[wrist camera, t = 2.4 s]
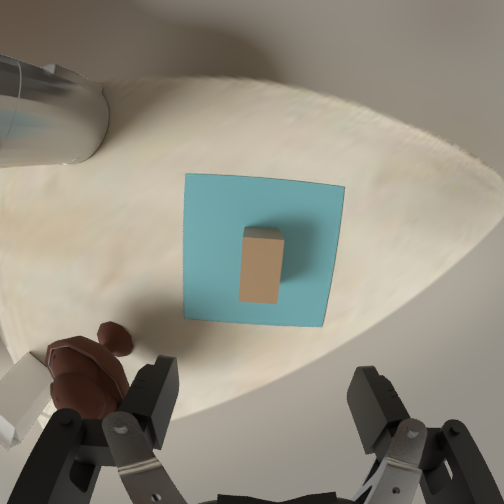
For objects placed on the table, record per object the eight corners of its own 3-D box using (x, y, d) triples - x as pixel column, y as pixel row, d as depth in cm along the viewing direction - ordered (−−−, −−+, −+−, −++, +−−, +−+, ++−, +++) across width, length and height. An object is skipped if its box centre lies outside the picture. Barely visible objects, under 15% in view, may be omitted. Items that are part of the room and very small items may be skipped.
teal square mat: (187, 173, 27) (172, 173, 21) (342, 186, 27) (360, 189, 22) (185, 314, 31) (174, 339, 26) (320, 323, 31) (330, 348, 26)
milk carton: (28, 350, 33) (-29, 412, 15) (56, 373, 34) (3, 444, 16) (29, 372, 35) (-19, 430, 17) (55, 393, 36) (11, 457, 18)
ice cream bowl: (81, 291, 30) (8, 354, 15) (157, 321, 31) (106, 411, 16) (82, 352, 32) (32, 418, 18) (149, 380, 33) (114, 462, 19)
